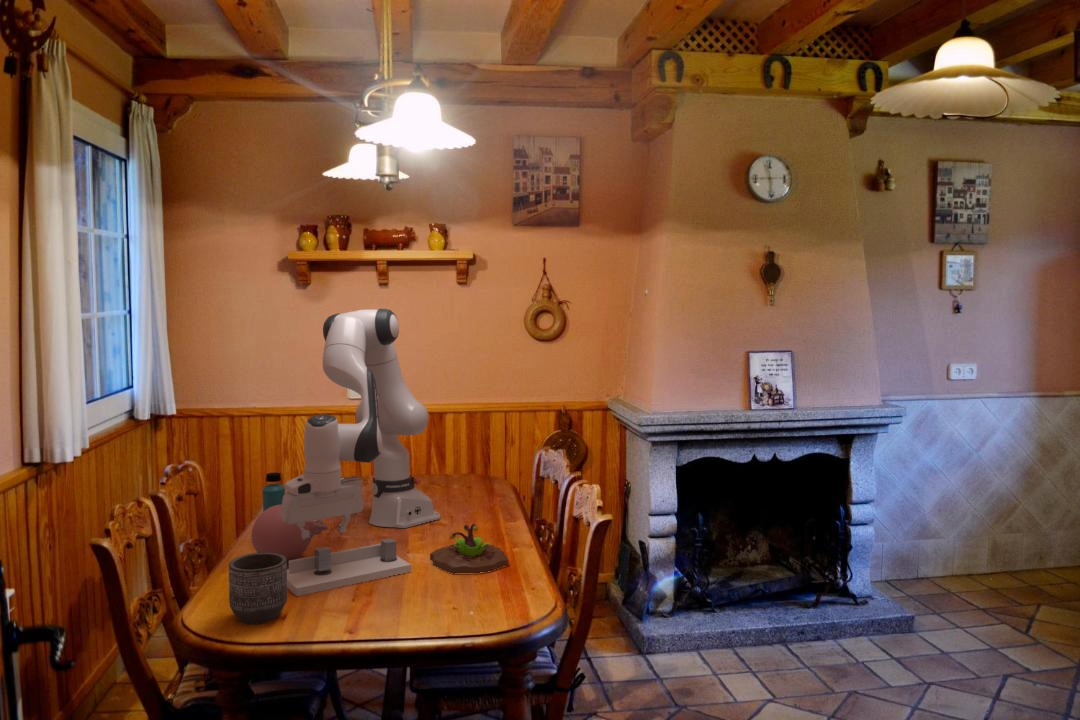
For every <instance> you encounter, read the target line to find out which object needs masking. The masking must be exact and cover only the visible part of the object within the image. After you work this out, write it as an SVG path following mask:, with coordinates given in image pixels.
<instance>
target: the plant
mask: <svg viewBox="0 0 1080 720" xmlns="http://www.w3.org/2000/svg"><path fill="white" fill-rule="evenodd" d="M463 530H464V531H465V532H466V531H467V535H465V534H464V533H463V532H460V531H459V532H453V533H451V534H450V535H449V536H450V538H449V539H452V540H453V539H456V540H455V542H456V543H455V544H454V543H452V544H449V545H448V546H444V547H440V548H438V549H435V550H433V551H432V552H430V553H429V560H430V561H431V560H432V561H431V562H432V566H433V565H434V566H436V567H435V568H437V567H438V568H437V569H439V568H441V569H443V570H442V571H444V570H445V571H444V572H446V571H447V572H446V573H448V572H450V573H453V574H452V575H454V574H455V573H480V572H488V571H493V570H495V569H497V568H500V567H503V566H507V565H508V566H509V558H508V557H507V555H506V554H505V552H504V550H502V549H501V548H500V547H496V546H495V545H494V544H489V543H490V542H489V541H487V542H484V543H483V542H482V541H483V537H480V536H479V535H478V536H476V537H474V533H473V532H478V530H479V527H478V525H477V524H475V523H472V524H471V526H470V527H469V525H468V524H465V525H464V526H463ZM456 535H457V536H458V535H459V536H461V537H462V538H461V537H456ZM434 566H433V567H434ZM441 569H440V570H441ZM500 569H501V568H500ZM497 570H498V569H497ZM495 571H496V570H495ZM493 572H494V571H493ZM450 573H449V574H450ZM488 573H489V572H488ZM455 575H456V574H455Z"/></svg>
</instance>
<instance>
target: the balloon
mask: <svg viewBox="0 0 1080 720" xmlns="http://www.w3.org/2000/svg"><path fill="white" fill-rule="evenodd" d="M281 512H282V504H280V505H275V506H272V507H270V508H268V509H266V510H265V511H264V512H263V511H262V512H261V513H260V514H259V515H258V517H257V518H256V519H255V521H254V523H253V526H252V528H251V542H252V546H253V548H254V549H255V552H256V553H277V554H281V555H283V556H285V557H286V560H287V563H289V560H295V559H299V558H300V557H301V556H302V555H304V554H305V552H306V551H307V549H308V548H309V547H310V544H311V542H312V539H313V537H314V536H316V535H317V536H318V535H319V536H320V535H321V534H322V532H323V531H327V530H328V529H329V526H328V525H326V524H325V523H324V522H323V519H319V520H313V521H308V522H305V526H303V528H304V529H305V530H308V531H309V532H310V535H309V536H310V538H309V539H304V540H303V539H302V536H301V531H300V529H299V528H298V526H297V523H296V524H290V525H289V524H287V523H285V522H284V521H283V520H282V515H281Z"/></svg>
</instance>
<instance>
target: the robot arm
mask: <svg viewBox="0 0 1080 720" xmlns="http://www.w3.org/2000/svg"><path fill="white" fill-rule="evenodd" d="M322 325H323V326H322V336H323V339H324V341H325V343H324V348H323V352H322V353H323V354H322V370H323V372H324V374H325V375H326V376H327V378H328V379H329V380H331V381H332V382H333V383H334V384H336V385H338V386H340V387H342V388H345V389H348V390H351V391H353V392H355V393H357V394H358V395H360V398H361V399H360V400H361V401H360V402H359V403H358V405H357V407H356V410H355V420H356V423H339V422H338V419H337V417H336V416H334V415H332V414H326V413H325V414H317V415H313V416H311V417H308V418H307V420H306V421H305V426H304V432H303V433H304V435H303V455H304V459H305V464H304V469H303V473H302V474H301V475H298V476H296V477H294V478H292V479H290V480H288V481H286V482H285V483H284V487H285V495H284V496H283V500H282V512H281V515H282V520H283V521H284V522H285V523H287V524H289V525H290V524H296V523H297V526H298V528H299V529H300V531H301V536H302V539H303V540H304V539H309V538H310V536H309V535H310V532H309V531H308V530H305V529H304V528H303V526H305V522H308V521H317V520H323V519H324V520H325V519H328V518H335V517H341V518H342V520H341V522H340V523H339V524H337V531H338V533H346V532H347V525H348V523H349V521H350V520H351V515H352V514H357V513H361V512H362V511H363V509H364V506H365V505H364V498H363V497H364V496H363V493H362V491H363V480H362V478H360V477H358V476H355V475H353V476H350V477H342V466H341V464H340V462H356V463H357V462H358V463H367V464H368V463H371V462H373V474H374V475H373V477H372V496H373V498H372V499H373V500H372V505H371V507H372V508H371V513H370V517H369V520H368V522H369V524H370V525H373V526H377V527H383V528H384V527H385V528H398V529H407V528H411V527H414V526H418V525H423V524H427V523H430V521H431V522H435V521H439V520H441V514H440V513H439V512H438V511H436V510H434V505H433V501H432V499H431V497H429V495H427V494H425V493H424V492H423V491H421V490H420V489H419V488H417V487H416V486H415V485H418V486H419V485H420V484H421V483H422V480H421V479H420V478H418V477H413V476H412V475H410V469H411V467H410V466H411V465H410V463H411V461H410V459H411V458H410V455H411V454H410V451H409V450H408V448H407V447H406V446H405V445H403V443H402V442H401V440H400V439H399V436H406V437H407V436H409V437H410V436H416V435H420V434H422V433H423V432H424V431H426V429H427V427H428V424H429V418H430V417H429V412H428V409H427V407H426V406H425V405H424V404H422V403H421V402H420V401H418V400H417V398H416V397H415V396H414V395H413V394H412V392H411V390H410V389H409V387H408V386H407V384H406V382H405V380H404V377H403V375H402V370H401V367H400V363H399V358H398V354H397V350H396V346H395V343H394V342H395V341H396V340H397V339H398V337H399V332H400V331H399V330H400V327H399V326H400V325H399V320H398V317H397V315H396V314H395V313H394V311H392V310H390V309H388V308H378V309H374V308H373V309H358V310H355V311H353V310H352V311H348V312H343V313H334V314H332V315H329V316H328V317H327V318H326V319H325V321H324V323H323V324H322ZM438 519H439V520H438ZM434 520H435V521H434ZM426 522H427V523H426ZM422 523H423V524H422Z"/></svg>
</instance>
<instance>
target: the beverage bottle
mask: <svg viewBox="0 0 1080 720" xmlns="http://www.w3.org/2000/svg"><path fill="white" fill-rule="evenodd" d="M281 475H282V474H281V473H280V472H274V471H273V472H269V473H266V476H265V482H268V484H266V485H265V486H264V487H263V488H262V512H264V511H265V510H266V509H268V508H270V507H272V506H275V505H280V504H282V500H283V496H284V495H285V493H286V489H285V485H283V484H282V483H278V482H281V480H282V476H281Z"/></svg>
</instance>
